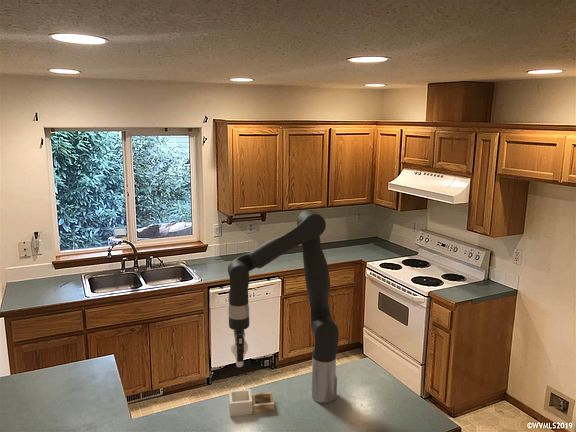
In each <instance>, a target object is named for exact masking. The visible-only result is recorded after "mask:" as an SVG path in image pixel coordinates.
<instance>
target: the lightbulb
mask: <svg viewBox="0 0 576 432" xmlns="http://www.w3.org/2000/svg"><path fill="white" fill-rule="evenodd" d="M239 349H242V348H239ZM236 350H237V346H235V339H234V340H233V341H232V343H231V345H230V351H231V353H232V354H233V355H234V359H235V362H236V363H235V366H236V368H241V367H243V366H244V360H245V355H246V354H247V352H248V350H249V345H248V342H247V341H246V340H245V345H244V353H243V361H242V362H238V361H237V352H236Z"/></svg>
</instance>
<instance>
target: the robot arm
mask: <svg viewBox="0 0 576 432" xmlns="http://www.w3.org/2000/svg"><path fill="white" fill-rule="evenodd" d="M326 226H327V223H326V220H325V218H324V217H323V215H321V214H319V213H318V212H316V211H315V210H311V209H305V210H303V211H302V212H300V213H299V214H298V216H297V219H296V226H295V227H293V229H291V230H290V231H288V232H286V233H284V234H282V235H280V236H277V237H275V238H272V239H269V240H268V241H266V242H264V243H262V244H261V245H259V246H258V247H256V248H254V249H252V250H251V251H250V252H247V253H245V254H243V255H240V256H238V257H237V258H235V259H233V260H232V261H231V262H229V264H228V266H227V273H228V276H229V289H228V327H229V328H230V330H233V338H234V340H235V346H237V350H236V352H237V361H238V362H242V361H243V362H244V359H243V353H244V345H245V341H246V340H245V337H246V332H245V330H247V329H248V328H249V327H250V305H249V285H250V272H251V271H253V270H255V269H262V268H264V267H265V266H267V265H269V264H270V263H271V262H273V261H274V260H276V259H277V258H279V257H281V256H282V255H284V254H285V253H287V252H289V251H290V250H294V248H296V247H298V246H300V245H301V248H302V249H301V250H302V258H303V273H304V281H305V286H306V292H307V296H308V302H309V306H310V309H309V310H310V327H311V328H310V329H311V331H312V333H313V335H314V347H313V349H312V352H311V354H312V355H311V356H312V359H311V360H312V362H311V364H312V365H311V366H312V368H311V369H312V371H311V377H312V378H311V397H312V400H314V401H315V402H317V403H320V404H321V403H322V404H328V403H331V402H333V401H337V398H338V376H337V373H336V372H337V371H336V369H337V354H338V350H339V333H340V332H339V328H338V325H337V324H336V323H335V321H334V320H333V318H332V314H331V309H330V306H329V296H330V291H331V290H330V289H331V277H330V270H329V265H328V262H327V259H326V257H325V253H324V251H323V247H322V243H321V235H322V234H324V232H325V231H326V228H327V227H326ZM239 348H242V349H239Z"/></svg>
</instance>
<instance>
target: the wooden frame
mask: <svg viewBox="0 0 576 432" xmlns="http://www.w3.org/2000/svg"><path fill="white" fill-rule="evenodd" d="M251 396H252V405H253V414H259V413H268V412H270V413H271V412H275V411H276V410H275V401H274V396H273V392H272V391H268V392H257V393H251ZM258 401H259V402H263V403H257V402H258ZM268 401H269V402H268Z"/></svg>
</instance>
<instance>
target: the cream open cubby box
mask: <svg viewBox="0 0 576 432" xmlns="http://www.w3.org/2000/svg"><path fill="white" fill-rule="evenodd" d="M251 394H252V392H251V388H246V389H237V390H236V389H235V390H228V405H229V406H228V407H229V416H232V417H233V415H234V416H241V415H249V414H250V415H251V414H254V413H253V405H252V396H251Z"/></svg>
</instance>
